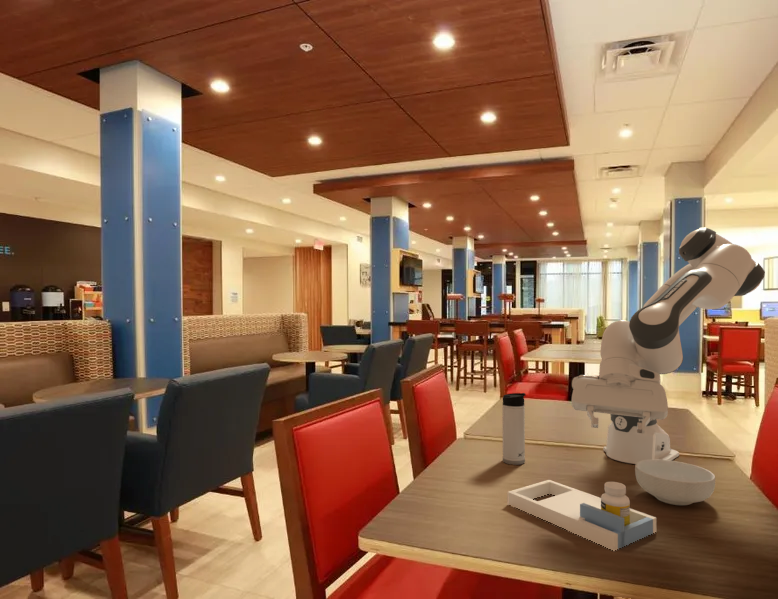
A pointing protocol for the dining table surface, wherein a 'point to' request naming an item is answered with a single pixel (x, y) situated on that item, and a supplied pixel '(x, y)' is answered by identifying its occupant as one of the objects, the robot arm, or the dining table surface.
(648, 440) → the robot arm
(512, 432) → the travel mug
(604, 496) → the supplement bottle
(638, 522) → the pocket rack
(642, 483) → the cereal bowl
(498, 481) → the dining table surface
